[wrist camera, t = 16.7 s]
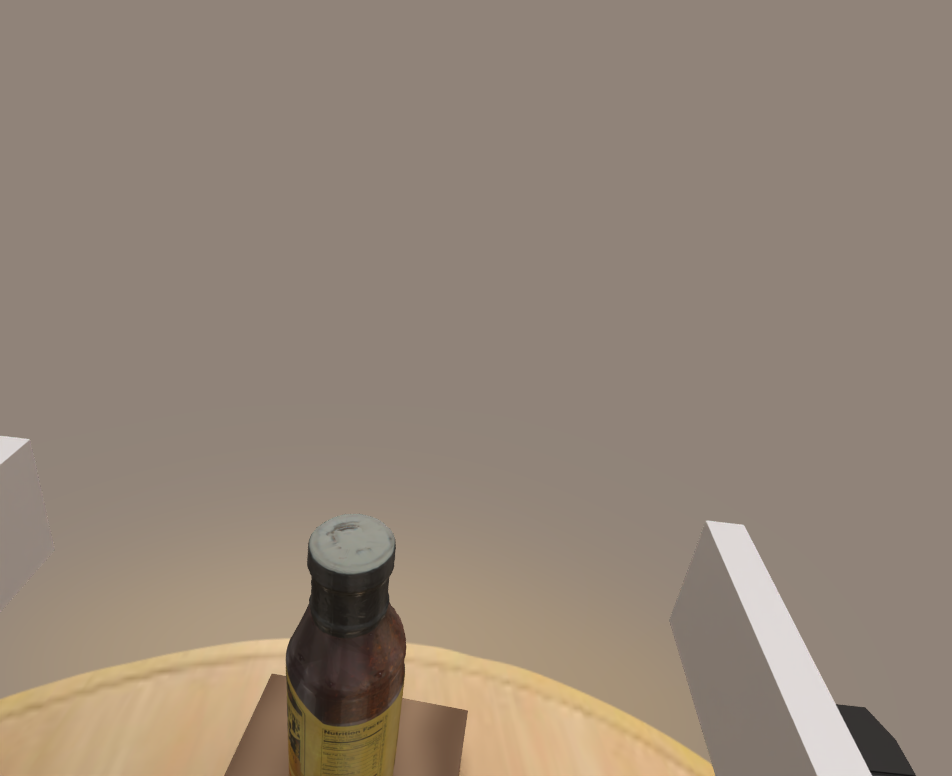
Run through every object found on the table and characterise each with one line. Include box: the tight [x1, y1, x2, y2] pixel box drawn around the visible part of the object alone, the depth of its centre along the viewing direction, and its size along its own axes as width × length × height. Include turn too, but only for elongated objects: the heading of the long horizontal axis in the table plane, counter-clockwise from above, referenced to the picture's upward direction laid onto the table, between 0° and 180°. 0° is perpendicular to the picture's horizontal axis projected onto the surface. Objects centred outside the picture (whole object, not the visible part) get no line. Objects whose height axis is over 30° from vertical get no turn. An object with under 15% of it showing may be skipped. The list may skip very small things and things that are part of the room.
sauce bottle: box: [286, 514, 406, 776], centre depth 36 cm, size 6×6×20 cm
